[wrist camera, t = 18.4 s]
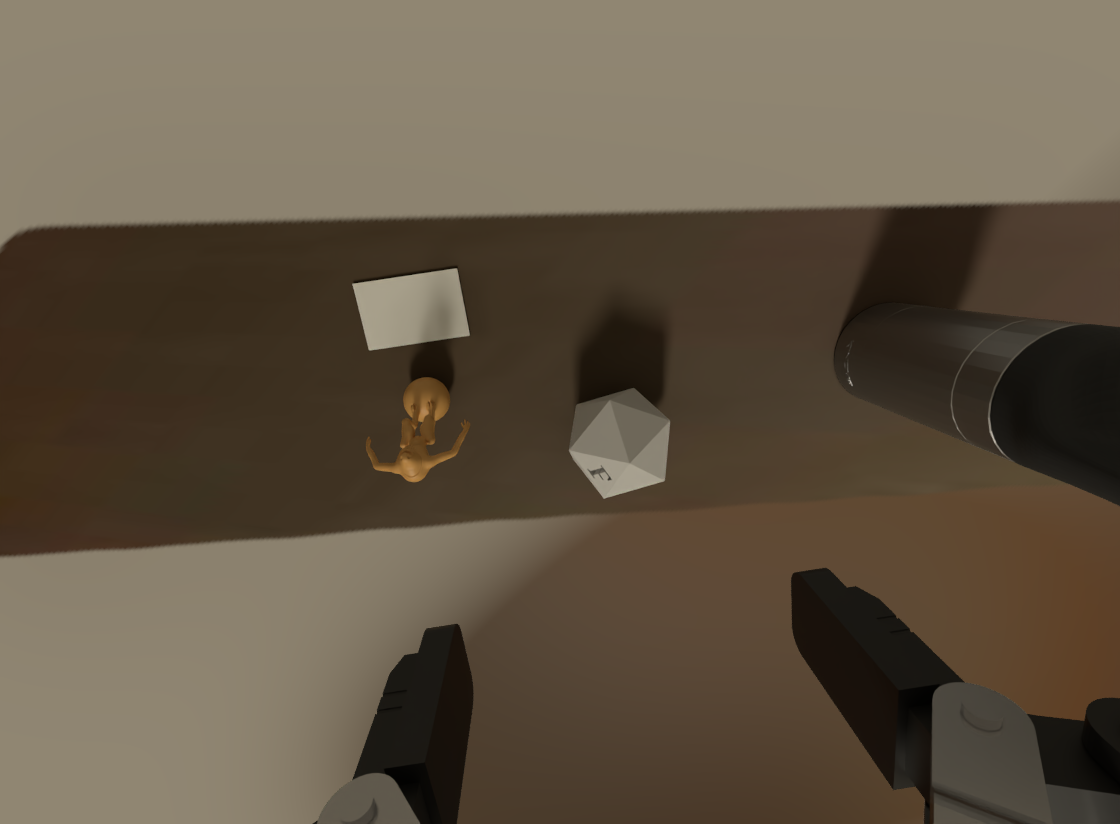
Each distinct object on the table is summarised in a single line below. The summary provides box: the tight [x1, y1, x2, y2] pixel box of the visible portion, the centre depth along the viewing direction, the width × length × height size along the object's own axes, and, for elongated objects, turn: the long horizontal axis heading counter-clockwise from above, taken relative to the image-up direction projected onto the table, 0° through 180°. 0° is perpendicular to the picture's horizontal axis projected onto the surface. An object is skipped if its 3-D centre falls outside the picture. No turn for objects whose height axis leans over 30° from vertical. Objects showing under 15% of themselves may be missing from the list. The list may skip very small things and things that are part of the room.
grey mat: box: [353, 268, 470, 351], centre depth 45 cm, size 9×6×1 cm, turn 98°
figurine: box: [366, 377, 470, 482], centre depth 42 cm, size 8×6×12 cm
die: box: [569, 388, 670, 498], centre depth 44 cm, size 8×9×10 cm
